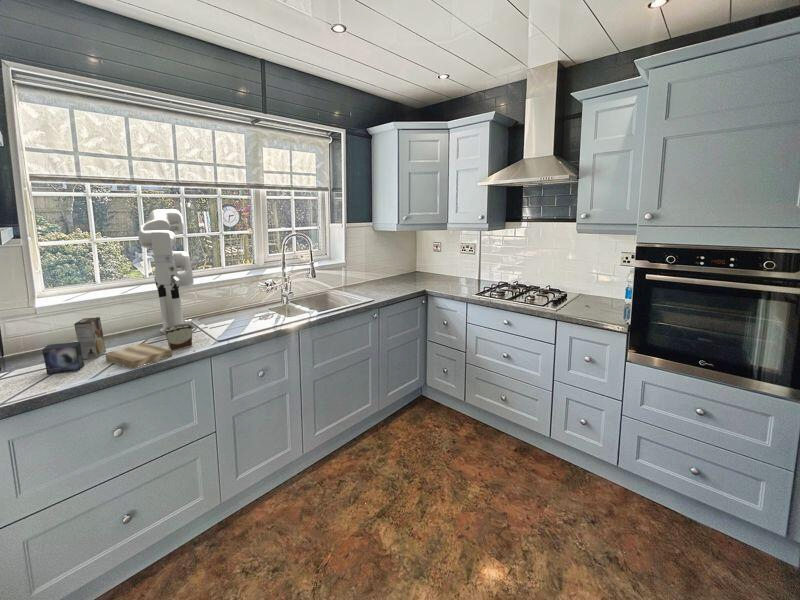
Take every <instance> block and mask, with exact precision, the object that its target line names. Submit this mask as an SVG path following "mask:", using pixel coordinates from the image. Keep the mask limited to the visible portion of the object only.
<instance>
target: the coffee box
mask: <svg viewBox="0 0 800 600" xmlns="http://www.w3.org/2000/svg"><path fill="white" fill-rule="evenodd" d="M73 324H74V329H75V333H76V340H77V342H79V341H80V346H81V351H82V357H83V360H90V359H89V358H92V359H99V358H100V357H101V356H102V355H103V354H104V353H105V352H107V349H106V343H105V338H104V333H103V327H102V322H101V317H100V316H98V317H86V318H82V319H80V320H78V321H77V322H75V323H73Z"/></svg>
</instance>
